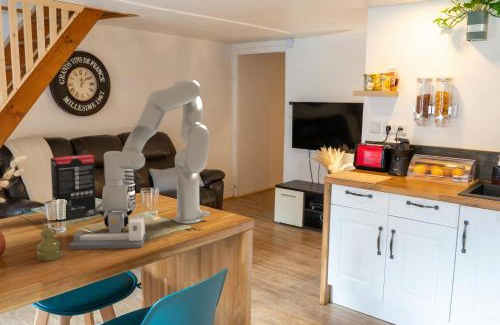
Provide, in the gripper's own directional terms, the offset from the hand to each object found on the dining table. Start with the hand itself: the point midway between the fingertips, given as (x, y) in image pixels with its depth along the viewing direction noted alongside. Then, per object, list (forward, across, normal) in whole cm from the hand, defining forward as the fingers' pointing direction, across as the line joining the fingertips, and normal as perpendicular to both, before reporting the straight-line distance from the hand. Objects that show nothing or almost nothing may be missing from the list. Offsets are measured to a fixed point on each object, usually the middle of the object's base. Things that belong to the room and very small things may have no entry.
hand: (116, 225), depth 170 cm
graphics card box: (+2, +22, -20) cm, 30 cm away
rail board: (+2, 0, +14) cm, 15 cm away
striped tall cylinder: (+2, +2, -32) cm, 32 cm away
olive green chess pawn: (+2, +16, +28) cm, 32 cm away
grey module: (+2, 0, 0) cm, 2 cm away
